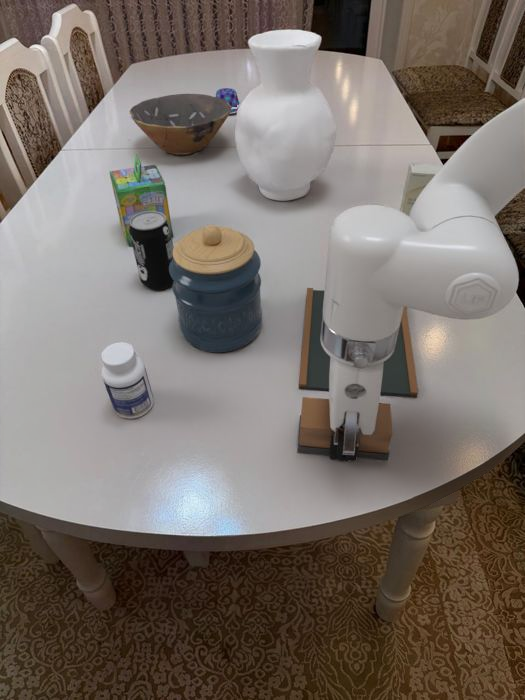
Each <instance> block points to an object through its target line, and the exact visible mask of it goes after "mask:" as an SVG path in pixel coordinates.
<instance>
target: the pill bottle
mask: <svg viewBox="0 0 525 700" xmlns="http://www.w3.org/2000/svg"><path fill="white" fill-rule="evenodd" d="M101 361H102V364H103V365H102V367H101V378H102V381H103V383H104V386H105V389H106V392H107V394H108V397H109V399H110V402H111V406H112V408H113V410H114V412H115V414H116V415H118V416H119V417H121V418H122V419H123V418H124V419H129V420H131V419H138V418H140V417H142V416H144V415H146V414H147V413H148V412H149V411H150V410H151V408H152V407H153V405H154V395H153V394H154V393H153V390H152V387H151V384H150V380H149V376H148V372H147V368H146V364H145V362H144V360H143V359H142V358H141V357H140V356H139V355H137V354H136V351H135V348H134V346H133V345H132V344H130V343H128V342H122V341H121V342H113V343H112V344H109V345H108V346H106V347H105V348H104V349H103V351H102V353H101Z"/></svg>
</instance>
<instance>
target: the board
mask: <svg viewBox="0 0 525 700" xmlns="http://www.w3.org/2000/svg"><path fill="white" fill-rule="evenodd" d="M324 291H325V290H322V289H321V290H320V289H314V287H307V288H306V299H305V309H304V310H305V311H304V321H303V322H304V323H303V331H302V332H303V334H302V345H301V355H300V356H301V357H300V367H299V378H298V379H299V380H298V390H311V391H322V392H323V391H325V392H329V370H330V356H329V355H328V354H327V353H326V352H325V351H324V349H323V347H322V345H321V340H320V338H321V327H322V315H323V302H324ZM409 323H410V322H409V317H408V310H407V307H404V309H403V314H402V318H401V322H400V327H399V331H398V336H397V340H396V344H395V349H394V352H393V354H392V355H391V356H390V357H389V358H388V359H387V360H386V361H384V363H383V376H382V385H381V393H380V396H390V397H391V396H392V397H394V396H395V397H403V398H404V397H405V398H406V397H407V398H415V399H416V398H418V395H419V388H418V380H417V373H416V366H415V360H414V352H413V351H414V350H413V346H412V345H413V344H412V337H411V331H410V325H409Z"/></svg>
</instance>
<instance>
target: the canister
mask: <svg viewBox="0 0 525 700" xmlns="http://www.w3.org/2000/svg"><path fill="white" fill-rule="evenodd" d="M173 247H174V248H173V258H172V259H171V261H170V264H169V272H170V275H171V277H172V278H173V280H174V281H173V285H172V292H173V293H172V294H173V295H174V298H175V302H176V303H175V304H176V309H177V314H178V317H177V321H178V326H179V329H180V331H181V333H182V336H183V338H184V339H185V341H187V343H189V345H190V346H191V347H192V346H193V347H194V348H196V349H198V350H201V351H205V352H209V353H226V352H232V351H235V350H239V349H241V348H243V347H245V346H247V345H248V344H250V343H252V341H253V340H255V339H256V337H257V336H258V334H259V333H260V330H261V327H262V323H263V310H262V303H261V302H262V301H261V286H262V277H261V275H260V273H259V271H260V269H261V266H262V265H261V263H262V262H261V258H260V255H259V254H258V251H256V250H255V245H254V242H253V241H252V239H251V238H250V237H249V236H248V235H247V234H245V233H243V232H241V231H239V230H236V229H233V228H231V227H228V226H221V225H214V224H209V225H207V226H204V227H200V228H197V229H194V230H193V231H191V232H189V233H188V234H185V235H184V236H182V237H181V238H180V239H178V241H176V243H175V244H174V245H173Z"/></svg>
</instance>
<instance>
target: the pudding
mask: <svg viewBox="0 0 525 700" xmlns="http://www.w3.org/2000/svg"><path fill="white" fill-rule="evenodd" d="M215 97H217V98H220V99H223V100H225V101H226V102H228V103H229V104H230V106H231V108H232V107H237V105H239V104H240V105H241V103H242V102H243V101H240V100H239V97H238V92H237V91H236V90H235V89H234V88H231V87H225V88H220V89H218V90H216V93H215ZM238 108H239V107H238ZM238 108H237V109H232V110H231V112H230V114H237V111H238ZM230 114H229V115H230Z"/></svg>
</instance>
